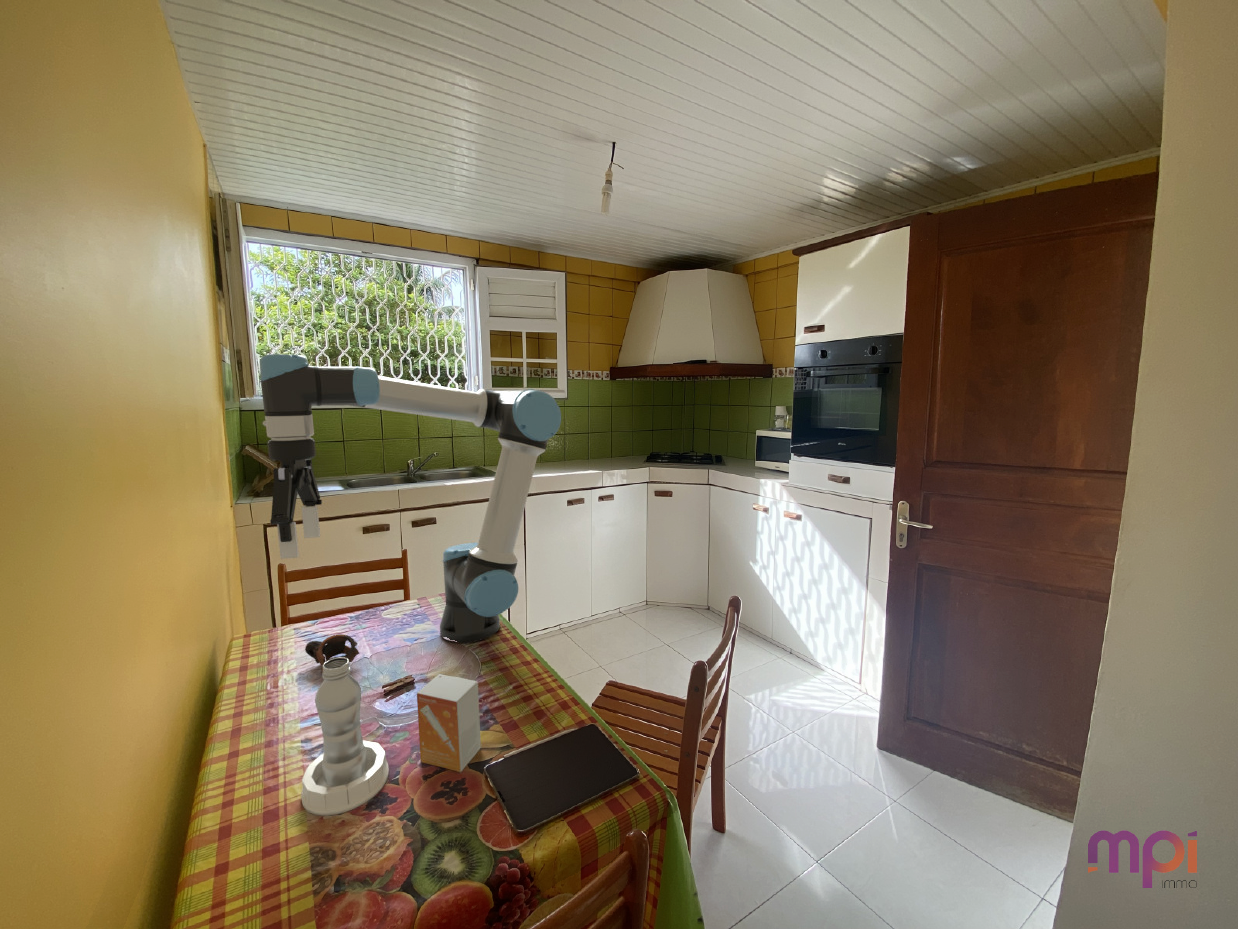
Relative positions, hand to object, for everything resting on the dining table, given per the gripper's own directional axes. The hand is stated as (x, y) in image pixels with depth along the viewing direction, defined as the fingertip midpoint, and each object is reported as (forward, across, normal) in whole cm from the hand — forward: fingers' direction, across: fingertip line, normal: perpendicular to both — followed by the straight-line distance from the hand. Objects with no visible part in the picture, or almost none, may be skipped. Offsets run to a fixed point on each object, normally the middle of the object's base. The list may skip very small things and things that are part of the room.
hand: (301, 547), depth 99 cm
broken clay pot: (+33, -15, 0) cm, 36 cm away
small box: (+33, +24, +27) cm, 49 cm away
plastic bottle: (+32, +26, +11) cm, 43 cm away
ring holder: (+33, +26, +11) cm, 43 cm away
